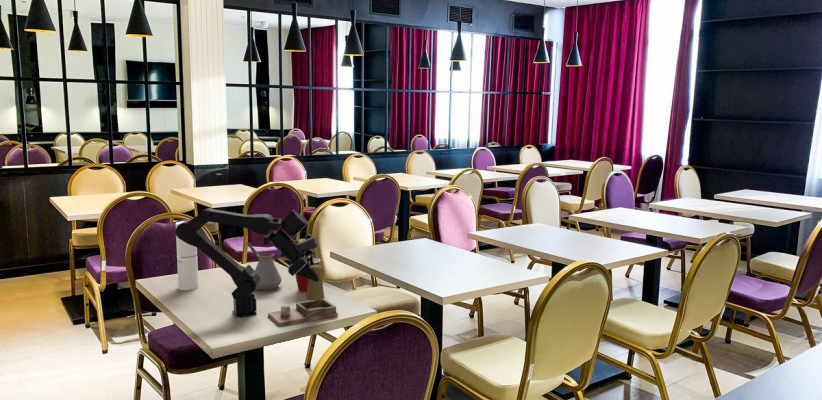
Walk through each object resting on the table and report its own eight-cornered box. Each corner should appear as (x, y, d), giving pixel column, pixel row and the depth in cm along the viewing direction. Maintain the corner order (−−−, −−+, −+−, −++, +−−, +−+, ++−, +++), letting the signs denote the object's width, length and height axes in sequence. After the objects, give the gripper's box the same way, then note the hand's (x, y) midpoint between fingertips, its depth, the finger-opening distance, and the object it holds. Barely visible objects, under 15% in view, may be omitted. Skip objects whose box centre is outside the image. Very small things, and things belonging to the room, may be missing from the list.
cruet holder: (279, 326, 197) (278, 313, 196) (268, 316, 206) (267, 303, 206) (337, 316, 207) (337, 304, 206) (324, 307, 216) (324, 295, 216)
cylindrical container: (194, 290, 234) (191, 224, 231) (175, 290, 234) (172, 224, 231) (201, 285, 241) (198, 221, 238) (182, 284, 241) (179, 220, 238)
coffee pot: (287, 288, 238) (286, 249, 236) (259, 293, 231) (258, 254, 229) (261, 276, 255) (260, 240, 252) (234, 281, 247) (233, 244, 245)
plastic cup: (325, 287, 240) (325, 256, 239) (313, 295, 230) (313, 263, 228) (299, 284, 243) (299, 254, 241) (286, 292, 233) (286, 261, 231)
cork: (315, 301, 204) (315, 268, 202) (302, 298, 207) (302, 265, 206) (328, 297, 209) (328, 265, 207) (315, 294, 212) (315, 262, 211)
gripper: (298, 234, 196) (333, 269, 197) (307, 223, 214) (339, 255, 216) (273, 258, 197) (308, 293, 198) (284, 245, 215) (316, 277, 217)
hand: (319, 278), depth 207 cm, fingers closed on cork, 5 cm apart
